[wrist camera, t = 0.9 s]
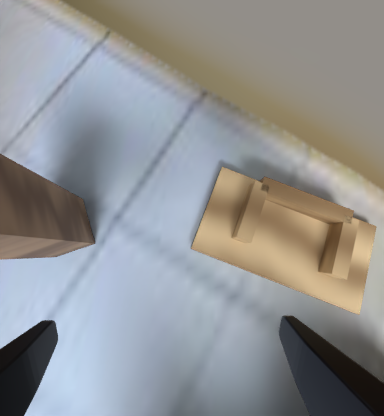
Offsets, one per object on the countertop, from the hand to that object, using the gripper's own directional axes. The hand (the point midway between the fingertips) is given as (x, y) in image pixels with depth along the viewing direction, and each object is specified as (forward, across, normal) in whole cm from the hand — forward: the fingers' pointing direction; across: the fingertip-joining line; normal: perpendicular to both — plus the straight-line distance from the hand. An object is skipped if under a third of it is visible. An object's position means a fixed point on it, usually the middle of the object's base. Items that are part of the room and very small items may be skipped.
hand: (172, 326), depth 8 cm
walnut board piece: (+15, +11, +2) cm, 18 cm away
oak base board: (+14, -12, +2) cm, 19 cm away
